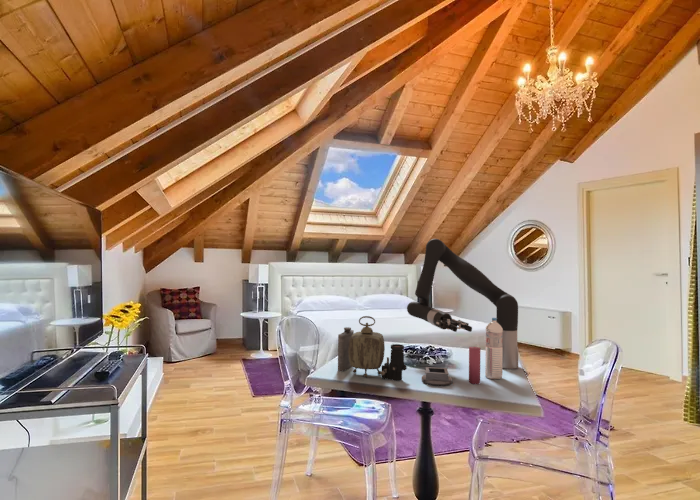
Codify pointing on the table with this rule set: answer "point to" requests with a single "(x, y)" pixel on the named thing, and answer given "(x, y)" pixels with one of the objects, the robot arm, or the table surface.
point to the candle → (474, 365)
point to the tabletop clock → (366, 349)
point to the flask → (344, 349)
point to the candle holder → (436, 377)
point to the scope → (394, 364)
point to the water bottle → (494, 350)
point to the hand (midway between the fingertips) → (464, 329)
